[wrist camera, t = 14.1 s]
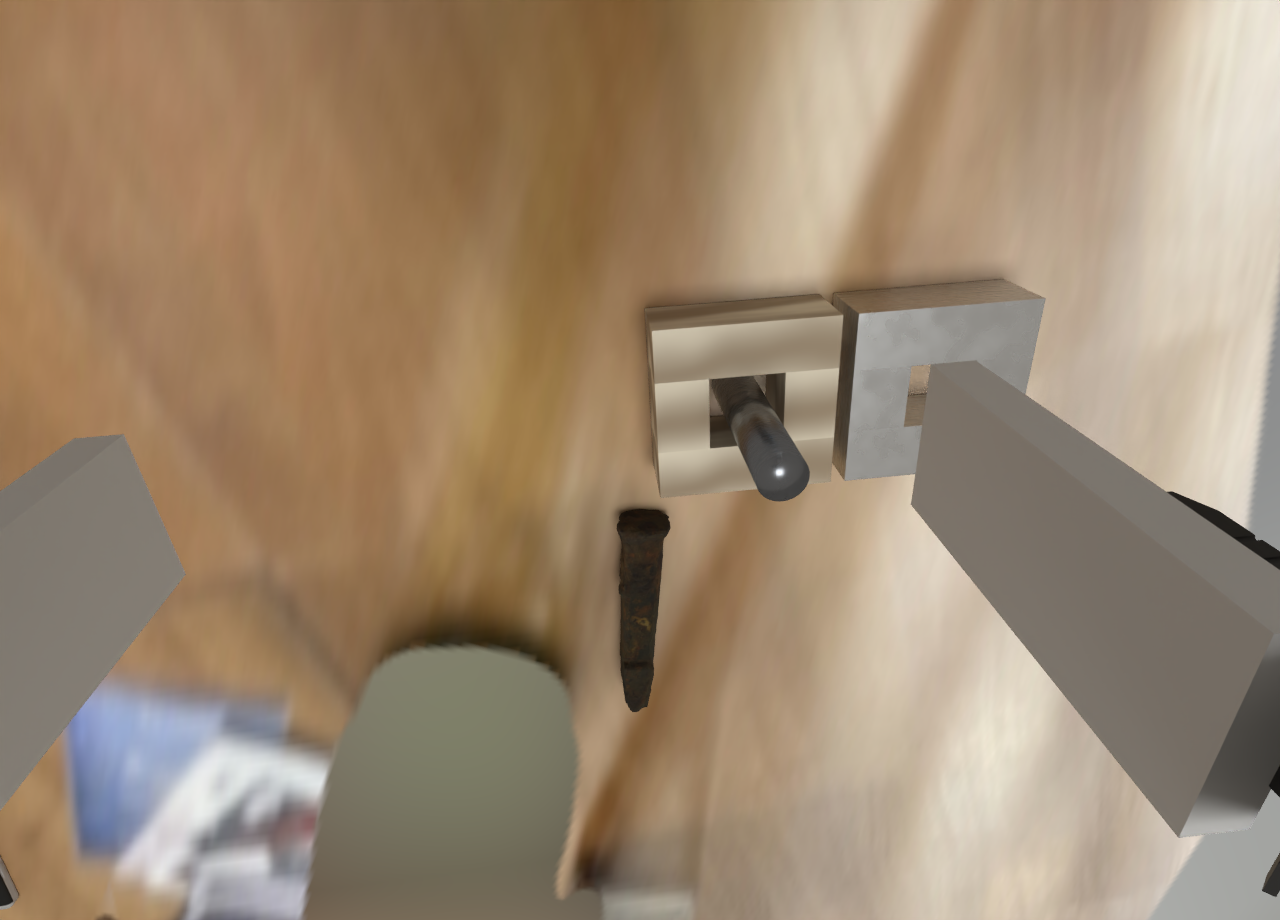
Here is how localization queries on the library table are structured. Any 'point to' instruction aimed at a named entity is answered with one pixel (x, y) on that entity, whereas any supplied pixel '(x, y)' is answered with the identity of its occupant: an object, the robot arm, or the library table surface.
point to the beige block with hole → (733, 347)
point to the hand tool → (640, 599)
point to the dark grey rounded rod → (761, 438)
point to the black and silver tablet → (6, 888)
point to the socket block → (919, 361)
